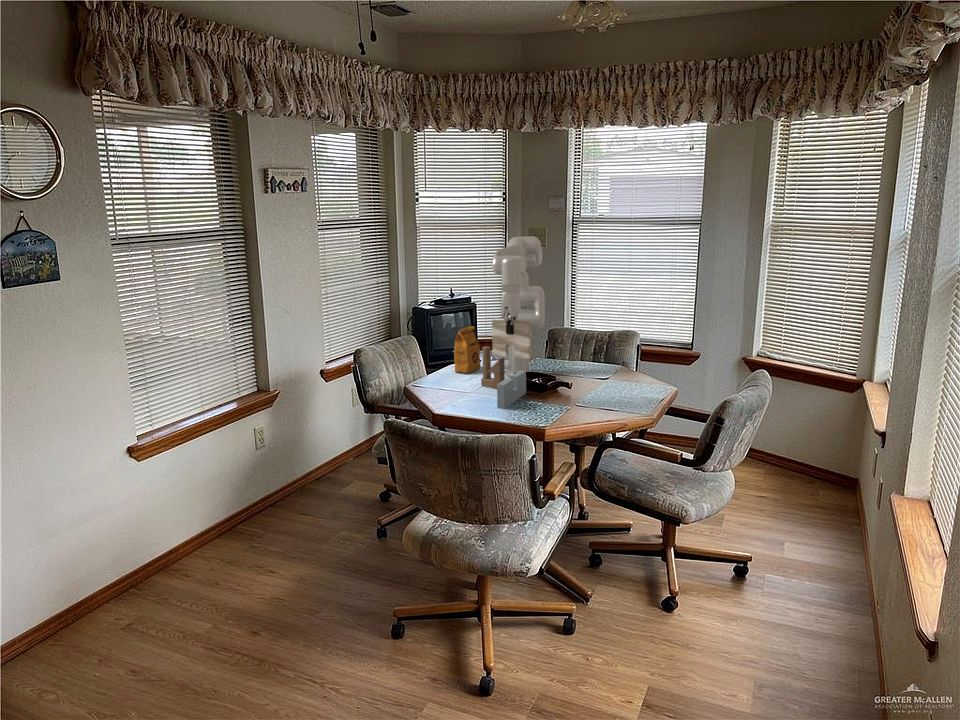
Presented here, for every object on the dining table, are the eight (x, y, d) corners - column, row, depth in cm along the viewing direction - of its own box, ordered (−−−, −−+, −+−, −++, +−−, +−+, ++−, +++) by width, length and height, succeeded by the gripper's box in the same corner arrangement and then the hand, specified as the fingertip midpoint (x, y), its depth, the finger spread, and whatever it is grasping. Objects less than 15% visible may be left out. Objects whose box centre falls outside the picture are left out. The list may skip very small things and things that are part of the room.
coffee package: (483, 370, 332) (482, 326, 327) (467, 375, 323) (466, 330, 318) (468, 367, 338) (467, 324, 333) (451, 372, 329) (450, 328, 324)
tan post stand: (500, 389, 298) (499, 350, 294) (481, 386, 304) (480, 347, 300) (505, 387, 301) (504, 348, 297) (486, 384, 307) (485, 345, 303)
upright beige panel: (495, 353, 282) (495, 318, 279) (531, 357, 275) (531, 320, 272) (492, 355, 279) (492, 319, 276) (528, 358, 273) (528, 322, 269)
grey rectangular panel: (519, 392, 293) (519, 370, 291) (526, 393, 292) (526, 371, 289) (497, 408, 272) (497, 384, 270) (504, 409, 271) (503, 385, 268)
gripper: (510, 285, 280) (510, 329, 284) (494, 290, 265) (495, 336, 270) (527, 286, 276) (527, 330, 281) (512, 291, 262) (512, 337, 266)
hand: (511, 333), depth 275 cm, fingers closed on upright beige panel, 3 cm apart
